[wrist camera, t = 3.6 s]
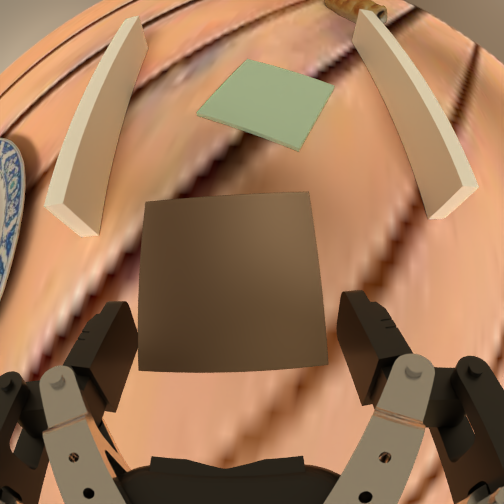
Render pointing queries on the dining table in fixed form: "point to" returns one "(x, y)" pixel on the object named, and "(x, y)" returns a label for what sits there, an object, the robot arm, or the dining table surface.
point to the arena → (378, 64)
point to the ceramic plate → (10, 204)
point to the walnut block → (230, 285)
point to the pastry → (356, 8)
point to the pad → (269, 103)
